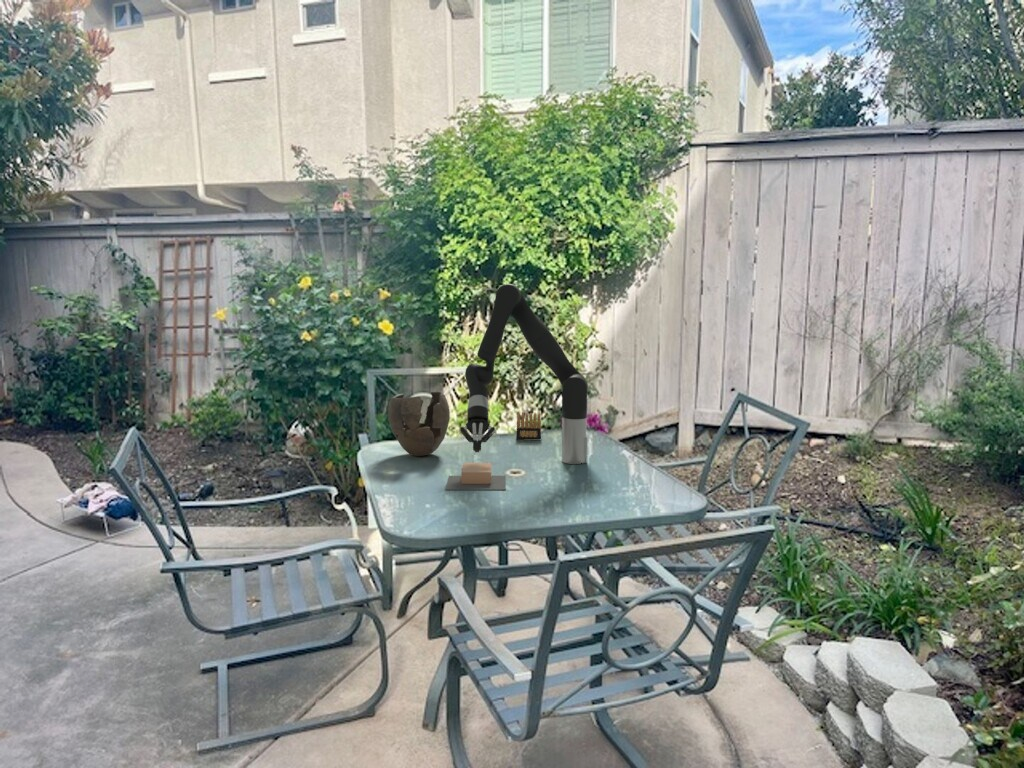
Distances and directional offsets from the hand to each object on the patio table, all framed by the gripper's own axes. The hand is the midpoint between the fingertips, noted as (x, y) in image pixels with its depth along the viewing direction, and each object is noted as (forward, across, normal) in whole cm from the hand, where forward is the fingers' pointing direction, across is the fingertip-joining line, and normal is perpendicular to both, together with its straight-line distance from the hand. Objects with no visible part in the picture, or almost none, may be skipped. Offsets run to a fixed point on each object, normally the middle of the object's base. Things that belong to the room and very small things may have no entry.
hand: (477, 451), depth 248 cm
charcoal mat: (+12, 0, +1) cm, 12 cm away
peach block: (+3, 0, +6) cm, 7 cm away
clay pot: (-14, -24, +28) cm, 39 cm away
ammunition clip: (-33, +20, +46) cm, 60 cm away
